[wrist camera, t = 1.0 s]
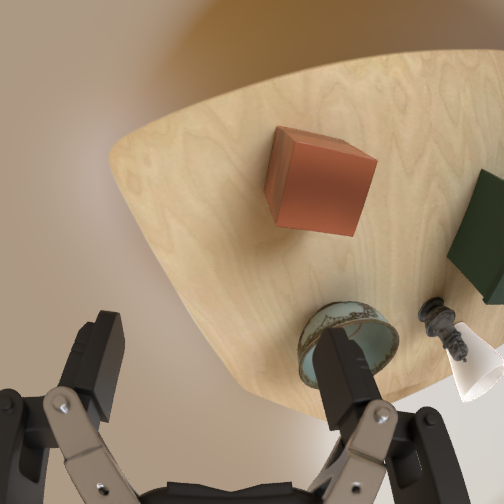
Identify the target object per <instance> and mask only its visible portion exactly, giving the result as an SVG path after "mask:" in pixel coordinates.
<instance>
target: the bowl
mask: <svg viewBox="0 0 504 504" xmlns="http://www.w3.org/2000/svg"><path fill="white" fill-rule="evenodd" d="M325 327H343V328H344V329H345V331H346V334H347V336H348V339H349V340H353V339H354V341H355V342H356V343H357V344H358V345H359V346H360V347H361V348H362V350H363V353H364V355H365V358H366V361H367V362H368V365H369V369H370V370H371V372H372V375H373V376H374V375H375V374H377V373H378V372H379V371H381V370H382V369H383V368H384V367H385V366H386V365H387V364H388V363H389V362H390V361H391V359H392V358H393V357H394V355H395V353H396V351H397V349H398V346H399V335H398V333H397V331H396V329H395V328H394V327H392V326H391V325H390V324H389V323H388V321H387V320H386V319H385V318H384V317H383V315H382V314H381V313H380V312H378V311H377V310H376V309H374V308H373V307H371V306H369V305H366V304H363V303H360V302H351V301H348V302H334V303H330V304H328V305H326V306H324V307H323V308H321V309H320V310H319V311H318V312H317V314H316V315H314V316H313V317H312V318H311V319H310V320H309V322H308V323H307V325H306V326H305V328H304V329H303V331H302V333H301V336H300V339H299V343H298V349H297V350H298V363H299V375H300V378H301V380H302V381H303V382H304V383H305V384H306V385H307V386H309V387H311V388H314V389H319V387H318V383H317V379H316V376H315V372H314V368H313V364H312V355H313V351H314V349H315V346H316V344H317V342H318V340H319V337H320V335H321V333H322V330H323V329H324V328H325Z"/></svg>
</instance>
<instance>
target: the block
mask: <svg viewBox="0 0 504 504" xmlns="http://www.w3.org/2000/svg"><path fill="white" fill-rule="evenodd" d="M377 162H378V161H377V160H376V159H374V158H373V157H371V156H369V155H368V154H366V153H364V152H363V151H361V150H359V149H357V148H356V147H354V146H352V145H350V144H349V143H347V142H345V141H343V140H340V139H336V138H332V137H328V136H324V135H319V134H315V133H311V132H306V131H301V130H297V129H292V128H287V127H282V126H277V129H276V134H275V139H274V144H273V149H272V154H271V159H270V163H269V168H268V173H267V178H266V183H265V188H264V193H265V196H266V199H267V202H268V205H269V208H270V211H271V214H272V217H273V219H274V222H275V225H276V226H279V227H286V228H294V229H301V230H309V231H316V232H323V233H330V234H337V235H344V236H351V237H353V236H354V233H355V230H356V227H357V224H358V221H359V218H360V215H361V213H362V210H363V207H364V203H365V200H366V197H367V194H368V191H369V188H370V185H371V182H372V178H373V175H374V172H375V168H376V165H377Z"/></svg>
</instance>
